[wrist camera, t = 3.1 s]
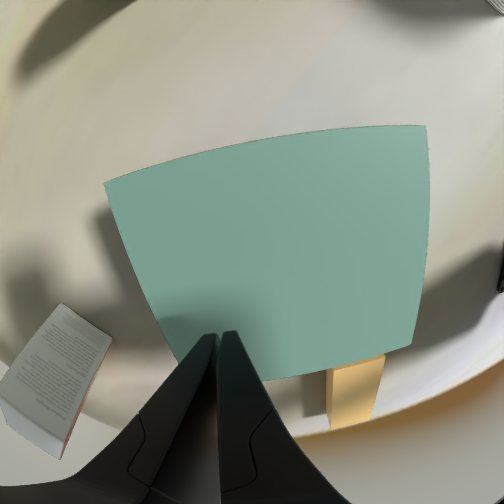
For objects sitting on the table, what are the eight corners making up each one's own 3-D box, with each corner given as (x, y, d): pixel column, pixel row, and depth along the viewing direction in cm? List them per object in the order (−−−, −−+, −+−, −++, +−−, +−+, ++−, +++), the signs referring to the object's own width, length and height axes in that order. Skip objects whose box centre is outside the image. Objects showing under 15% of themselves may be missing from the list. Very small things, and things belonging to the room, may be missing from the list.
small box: (95, 378, 22) (60, 461, 12) (50, 348, 20) (5, 425, 11) (115, 337, 19) (66, 445, 10) (60, 299, 18) (-8, 392, 8)
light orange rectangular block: (372, 330, 20) (385, 357, 17) (361, 397, 24) (369, 419, 21) (324, 342, 20) (333, 370, 17) (325, 406, 24) (330, 429, 21)
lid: (411, 125, 8) (425, 125, 7) (403, 332, 13) (410, 344, 12) (115, 178, 9) (103, 183, 8) (195, 374, 13) (192, 388, 12)
